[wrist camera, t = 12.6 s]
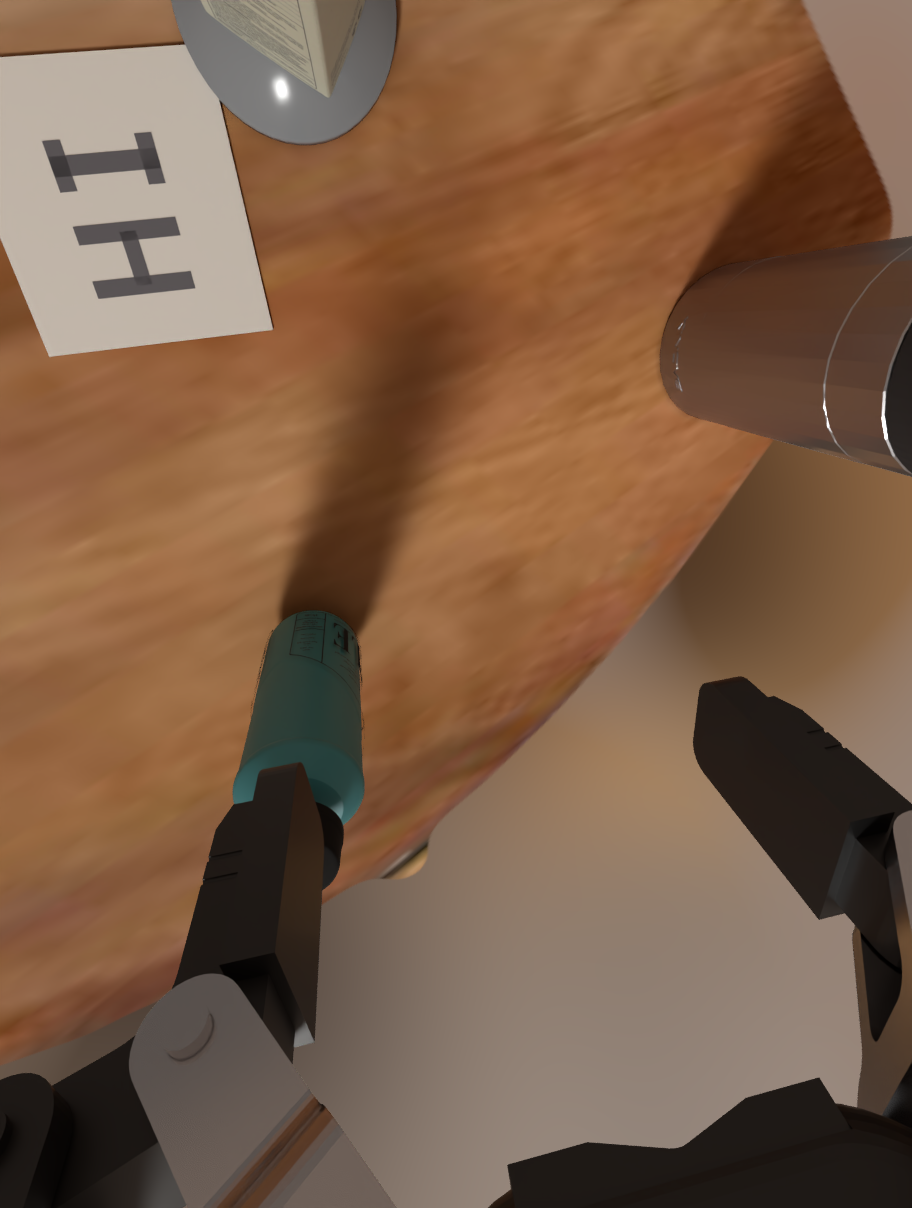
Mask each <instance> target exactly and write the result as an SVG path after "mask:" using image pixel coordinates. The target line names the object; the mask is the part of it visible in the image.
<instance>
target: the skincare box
mask: <svg viewBox="0 0 912 1208" xmlns="http://www.w3.org/2000/svg"><path fill="white" fill-rule="evenodd" d="M201 2H202V4H203V6H204V8H205V10H206V12H207V13H209V14H210V15H211V16H212V17H214V18H215V19H216V20H217V21H219V22H220V23H221V24H223V25H224V26H225V27H227V28H228V29H229V30H231V31H232V32H233V33H235V34H236V35H237V36H239V37H240V38H242V39H243V40H244V41H246V42H247V43H248V44H250V45H251V46H252V47H254V48H255V49H257V50H258V51H259V52H261V53H262V54H264V55H265V56H267V57H268V58H269V59H271V60H272V61H274V62H275V63H277V64H278V65H279V66H281V67H282V68H284V69H285V70H287V71H288V72H290V73H291V74H292V75H294V76H295V77H297V78H298V79H300V80H301V81H303V82H304V83H306V84H307V85H309V86H310V87H312V88H313V89H315V90H317V91H318V92H320V93H321V94H323V95H324V96H326V97H330V96H331V94H332V92H333V90H334V87H335V85H336V82H337V80H338V77H339V75H340V72H341V69H342V67H343V64H344V62H345V59H346V56H347V54H348V51H349V49H350V46H351V43H352V40H353V37H354V35H355V32H356V29H357V26H358V23H359V20H360V16H361V13H362V10H363V7H364V4H365V0H201Z"/></svg>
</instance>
